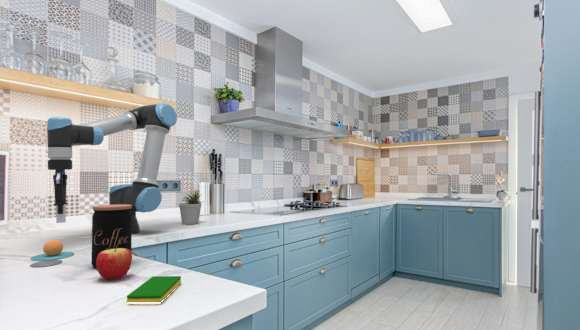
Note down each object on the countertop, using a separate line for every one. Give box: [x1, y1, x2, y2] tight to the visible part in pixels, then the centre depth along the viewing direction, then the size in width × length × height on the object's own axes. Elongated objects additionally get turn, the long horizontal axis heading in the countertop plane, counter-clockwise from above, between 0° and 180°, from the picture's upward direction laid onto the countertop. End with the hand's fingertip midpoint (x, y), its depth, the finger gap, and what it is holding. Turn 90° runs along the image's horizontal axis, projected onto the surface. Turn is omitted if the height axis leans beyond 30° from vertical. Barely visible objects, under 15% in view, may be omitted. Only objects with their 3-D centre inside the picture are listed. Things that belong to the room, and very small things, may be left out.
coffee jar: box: [91, 204, 133, 270], centre depth 100 cm, size 11×11×18 cm
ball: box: [42, 239, 64, 256], centre depth 112 cm, size 6×6×6 cm
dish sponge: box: [126, 275, 182, 303], centre depth 75 cm, size 7×14×2 cm, turn 1°
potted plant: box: [178, 189, 205, 226], centre depth 190 cm, size 13×14×20 cm
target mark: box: [30, 251, 75, 262], centre depth 112 cm, size 12×12×1 cm
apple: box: [96, 239, 133, 281], centre depth 87 cm, size 8×8×10 cm
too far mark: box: [29, 259, 63, 268], centre depth 102 cm, size 8×8×1 cm
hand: (61, 222), depth 123 cm, fingers closed
